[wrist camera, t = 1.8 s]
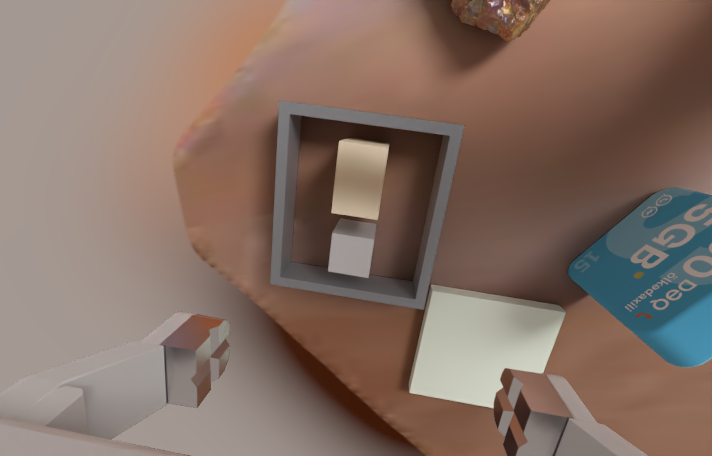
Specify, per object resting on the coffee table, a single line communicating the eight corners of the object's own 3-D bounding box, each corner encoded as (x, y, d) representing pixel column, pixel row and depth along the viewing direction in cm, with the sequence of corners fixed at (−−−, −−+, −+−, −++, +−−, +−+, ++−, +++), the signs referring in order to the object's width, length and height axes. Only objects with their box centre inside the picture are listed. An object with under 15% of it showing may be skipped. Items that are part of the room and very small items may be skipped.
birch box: (349, 137, 33) (339, 141, 26) (389, 142, 33) (388, 147, 26) (342, 197, 35) (331, 215, 28) (379, 203, 34) (377, 222, 28)
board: (430, 284, 37) (432, 290, 35) (559, 305, 36) (566, 312, 34) (408, 383, 41) (409, 392, 40) (522, 403, 40) (527, 414, 39)
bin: (292, 103, 32) (279, 100, 28) (455, 124, 31) (464, 125, 28) (282, 268, 38) (270, 284, 34) (420, 290, 37) (423, 309, 33)
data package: (664, 183, 31) (821, 218, 20) (695, 213, 32) (865, 264, 20) (560, 269, 35) (643, 341, 23) (590, 295, 35) (685, 377, 24)
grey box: (340, 218, 35) (332, 233, 31) (376, 223, 35) (374, 239, 30) (336, 252, 37) (327, 271, 32) (371, 257, 36) (368, 277, 32)
